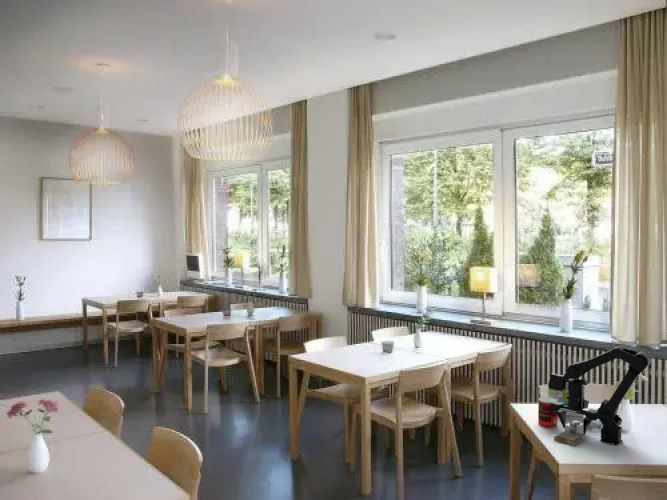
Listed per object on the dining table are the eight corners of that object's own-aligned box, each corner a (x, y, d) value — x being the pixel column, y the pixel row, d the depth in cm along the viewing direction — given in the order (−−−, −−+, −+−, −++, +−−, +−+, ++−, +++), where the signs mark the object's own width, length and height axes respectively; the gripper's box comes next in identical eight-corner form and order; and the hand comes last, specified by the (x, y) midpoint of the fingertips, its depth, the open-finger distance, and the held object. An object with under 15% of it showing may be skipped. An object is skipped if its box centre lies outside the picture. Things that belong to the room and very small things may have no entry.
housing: (583, 433, 237) (584, 421, 237) (575, 437, 233) (576, 425, 233) (573, 430, 241) (573, 418, 241) (565, 434, 236) (565, 422, 236)
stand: (582, 441, 228) (582, 436, 228) (573, 446, 223) (574, 441, 223) (563, 435, 234) (563, 430, 234) (554, 440, 229) (554, 435, 229)
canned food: (554, 421, 251) (554, 397, 250) (559, 428, 243) (559, 402, 243) (536, 421, 252) (536, 396, 251) (540, 427, 244) (541, 401, 243)
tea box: (548, 414, 261) (549, 382, 261) (546, 407, 271) (547, 376, 271) (583, 417, 257) (584, 385, 257) (581, 410, 267) (581, 379, 266)
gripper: (606, 394, 235) (605, 432, 235) (562, 385, 248) (561, 421, 249) (595, 400, 227) (594, 439, 228) (550, 390, 241) (549, 427, 241)
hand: (574, 431), depth 237 cm, fingers open, 8 cm apart
